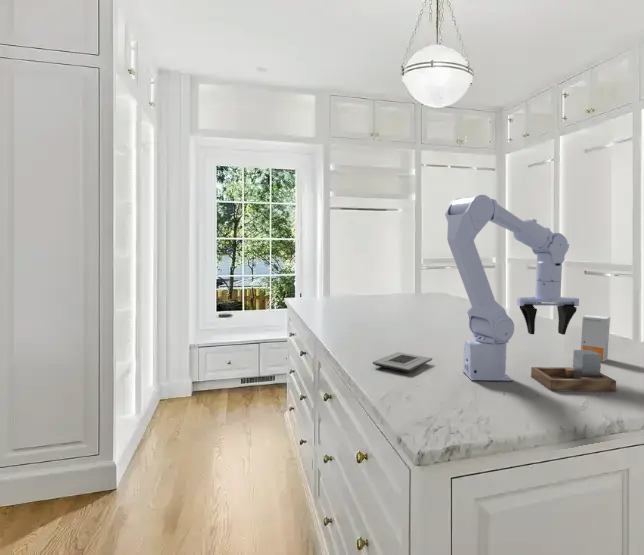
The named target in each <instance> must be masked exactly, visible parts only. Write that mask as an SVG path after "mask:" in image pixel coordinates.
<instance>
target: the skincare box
mask: <svg viewBox="0 0 644 555" xmlns="http://www.w3.org/2000/svg"><path fill="white" fill-rule="evenodd" d="M581 320H582V322H581V338H580V339H581V340H580V350H592V351H595V352H597V353H599V354H601V362H603V363H604V362H606V361H607V359H608V355H609V340H610V337H609V336H610V326H611V325H610V323H611V317H610V316H605V315H604V316H602V315H594V314H593V315H592V314H585V315H583V316H582V319H581Z"/></svg>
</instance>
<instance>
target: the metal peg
mask: <svg viewBox="0 0 644 555" xmlns="http://www.w3.org/2000/svg"><path fill="white" fill-rule="evenodd" d="M572 359H573V360H572V362H573V363H572V368H573V378H572V379H580V377H600V373H601V366H602V364H601V363H602V361H601V354H599V353H597V352H595V351H592V350H581V349H573V356H572Z"/></svg>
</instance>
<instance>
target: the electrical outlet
mask: <svg viewBox="0 0 644 555" xmlns="http://www.w3.org/2000/svg"><path fill="white" fill-rule="evenodd" d="M432 360H433V357H427V356H422V355H417V354H410V353H405V352H400V351H397V352H395V353H392V354H390V355H387V356H385V357H382V358H379V359H376V360H374V361H372V364H373V365H375V366H376V367H382V368H386V369H391V370H395V371H400V372H405V373H409V372H410V371H413V370H414V369H416V368H419V367H421V366H423V365H425V364H427V363H430V362H431V361H432Z"/></svg>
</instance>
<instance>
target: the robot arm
mask: <svg viewBox="0 0 644 555" xmlns="http://www.w3.org/2000/svg"><path fill="white" fill-rule="evenodd" d="M444 215H445V218H446V221H447V238H446V239H447V242H448V243H447V244H448V246H449V248H450V251H451V255H452V257H453V261H454V262H455V264H456V267H457V270H458V273H459V275H460V279H461V281H462V284H463V286H464V289H465V292H466V294H467V298H468V300H469V303H470V308H469V309H468V310H467V316H468V328H469V330H470V332H471V333H472V334H473V339H471V340H470V339H469V340H466V341H465V342H464V346H463V369H462V371H463V373H464V374H465V375H466V376H467V377H468V378H469V379H470V380H471V381H501V382H502V381H503V382H505V381H507V382H511V381H513V380H512V377H510V376H509V375H508V374H506V370H507V369H506V368H507V366H506V365H507V364H506V363H507V344H508V343H509V341H510V339H511V338H512V337H513V335H514V332H515V323H514V321H513V319H512V318H510V316H509V315H508V313H507V311H506V309H505V308H504V307H503V306H502V305H501V304H500V303H499V302H497V300H496V299H495V296H494V294H493V290H492V288H491V285H490V283H489V279H488V276H487V275H486V271H485V268H484V265H483V263H482V260H481V257H480V254H479V252H478V249H477V246H476V244H475V239H476V237H477V235H478V234H479V233H480V232H481V231H482V230H483V228H485V226H486V225H487V224H488V223H489V222H491V223H493V224H495V225H498V226H500V227H502V228H504V229H506V230H508V231H510V232H512V234H513V237H514V239H515V240H516V241H518V242H519V243H522V244H524V245H525V246H527V247H529V248H531V250H532V252H533V254H534V255H536V268H535V269H536V271H535V273H536V275H535V296H524V297H520V296H519V297H516V305H517V306H519V309H520V311H521V314H522V315H523V318H524V320H525V323H526V328H527V333H528V334H529V335H535V331H536V330H535V329H536V328H535V326H536V325H535V324H536V317H537V312H538V309H537V308H536V307H535V306H543V307H544V306H549V307H551V306H556V308H557V315H558V324H557V331H558V332H557V333H558V334H561V335H562V336H563V335H566V333H567V329H568V326H569V324H570V322H571V320H572V318H573V316H574V315H575V314H576V313H577V309H578V308H577V307H579V306H580V298H578V297H570V296H569V297H564V296H561V294H562V273H563V263H564V261H565V258H566V254H567V252H568V251H569V248H570V244H569V243H568V239H567V238H566V236H565V235H563V233H559V232H552V231H551V229H550V228H549V227H544V226H543V225H541V224H539V223H538V220H537V219H535V218H525V219H521V218H519V217H518V216H516V215H514V213H512V212H510V211H509V210H508V209H506V208H504V207H503V206H501V205H500V204H499V203H498V202H497V200H496V199H494V198H491V197H489V196H488V195H487V194H478V195H476V196H470V197H469V196H468V197H464V198H462V197H460V198H455V199H453V200H452V201H451V202H450V203H449V204H448V206H447V209H446V211H445V214H444Z"/></svg>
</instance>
